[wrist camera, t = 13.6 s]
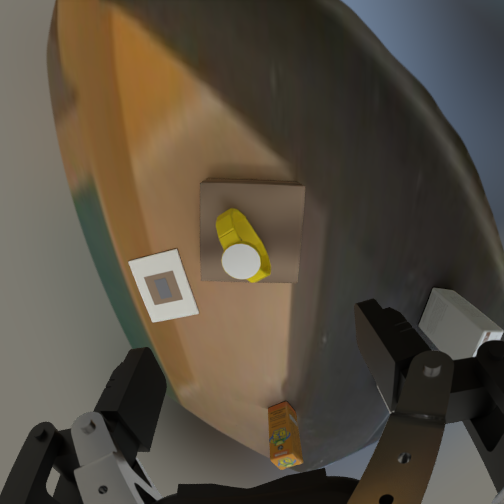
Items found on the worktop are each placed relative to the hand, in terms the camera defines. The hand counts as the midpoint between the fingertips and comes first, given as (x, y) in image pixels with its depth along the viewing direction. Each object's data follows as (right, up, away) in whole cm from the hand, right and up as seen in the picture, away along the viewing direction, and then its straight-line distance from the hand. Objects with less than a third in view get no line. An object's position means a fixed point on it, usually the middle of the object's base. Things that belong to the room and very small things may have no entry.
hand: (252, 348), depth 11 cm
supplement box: (+4, -19, +29) cm, 35 cm away
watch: (0, +5, +16) cm, 17 cm away
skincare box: (+25, -4, +24) cm, 35 cm away
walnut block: (0, +7, +21) cm, 22 cm away
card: (-10, 0, +22) cm, 24 cm away
